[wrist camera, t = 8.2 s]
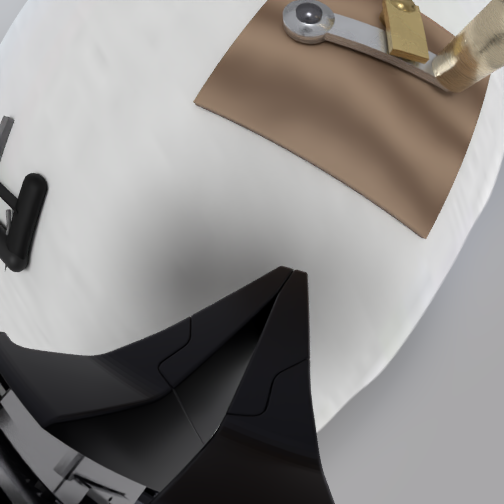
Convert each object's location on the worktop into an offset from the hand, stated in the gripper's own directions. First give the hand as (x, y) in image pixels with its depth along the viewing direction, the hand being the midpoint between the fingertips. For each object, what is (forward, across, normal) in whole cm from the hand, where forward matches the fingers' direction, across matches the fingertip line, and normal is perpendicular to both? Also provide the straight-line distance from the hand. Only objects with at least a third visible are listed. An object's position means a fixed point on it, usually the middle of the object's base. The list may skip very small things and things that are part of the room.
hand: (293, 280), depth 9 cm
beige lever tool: (+19, -1, -9) cm, 21 cm away
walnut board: (+19, 0, -7) cm, 20 cm away
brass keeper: (+21, -3, -10) cm, 23 cm away
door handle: (+4, +37, +2) cm, 38 cm away
